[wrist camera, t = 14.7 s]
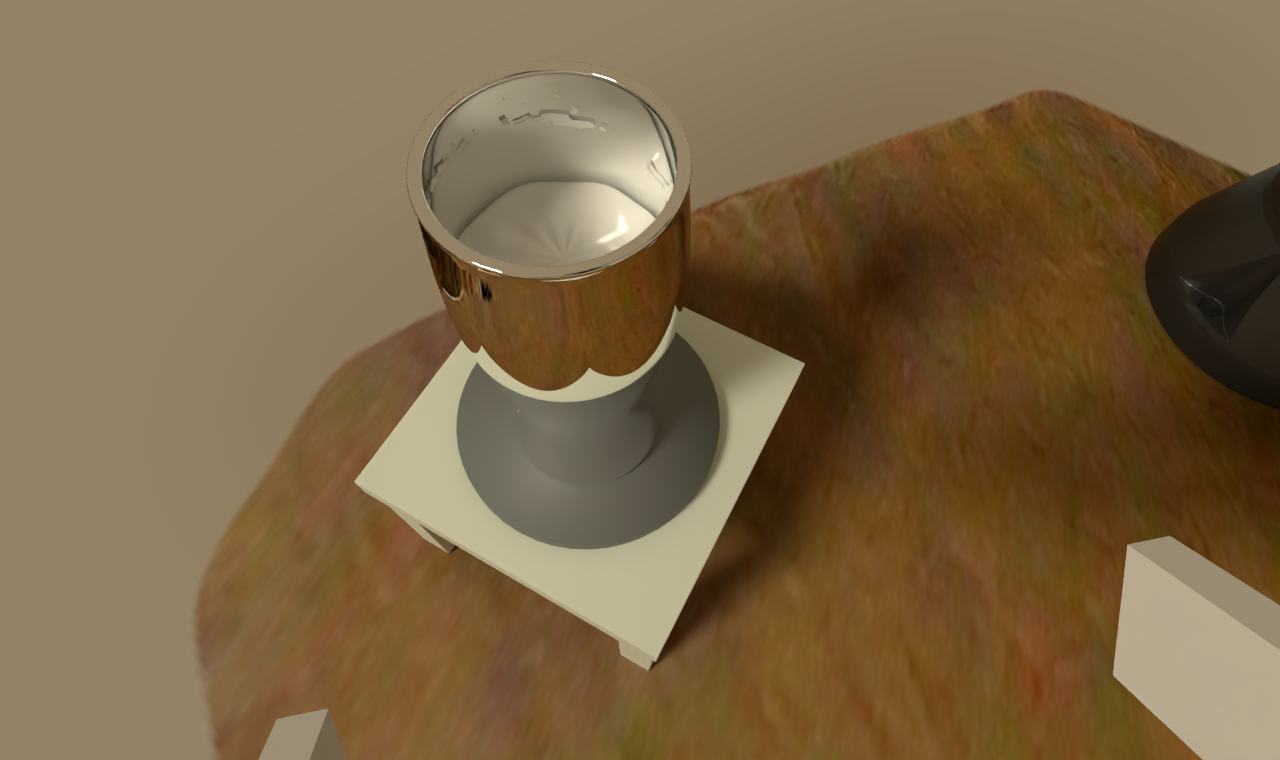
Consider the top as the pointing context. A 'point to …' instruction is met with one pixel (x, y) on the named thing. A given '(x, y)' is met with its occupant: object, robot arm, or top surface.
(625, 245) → the beer glass
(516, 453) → the stool
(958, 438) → the top surface
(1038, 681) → the top surface
